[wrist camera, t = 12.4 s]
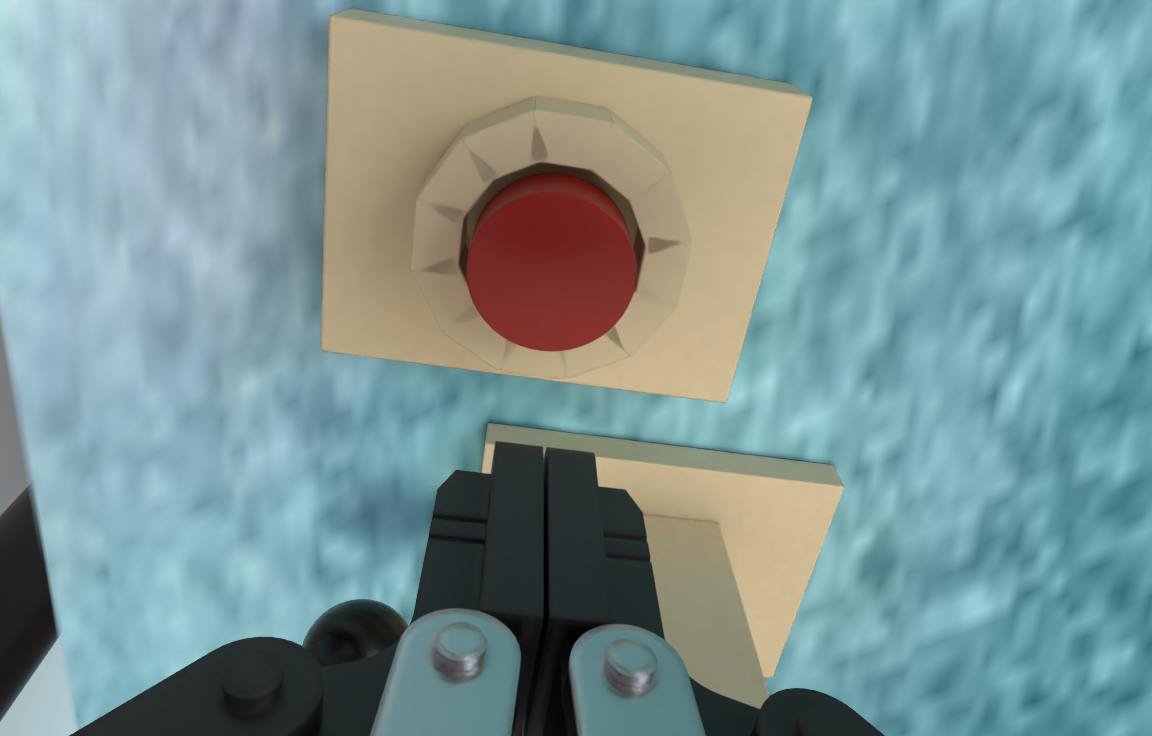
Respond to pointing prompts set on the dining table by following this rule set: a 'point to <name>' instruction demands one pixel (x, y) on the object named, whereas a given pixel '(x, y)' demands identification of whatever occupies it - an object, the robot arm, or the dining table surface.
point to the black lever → (354, 632)
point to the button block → (532, 146)
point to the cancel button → (551, 263)
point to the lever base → (715, 545)
